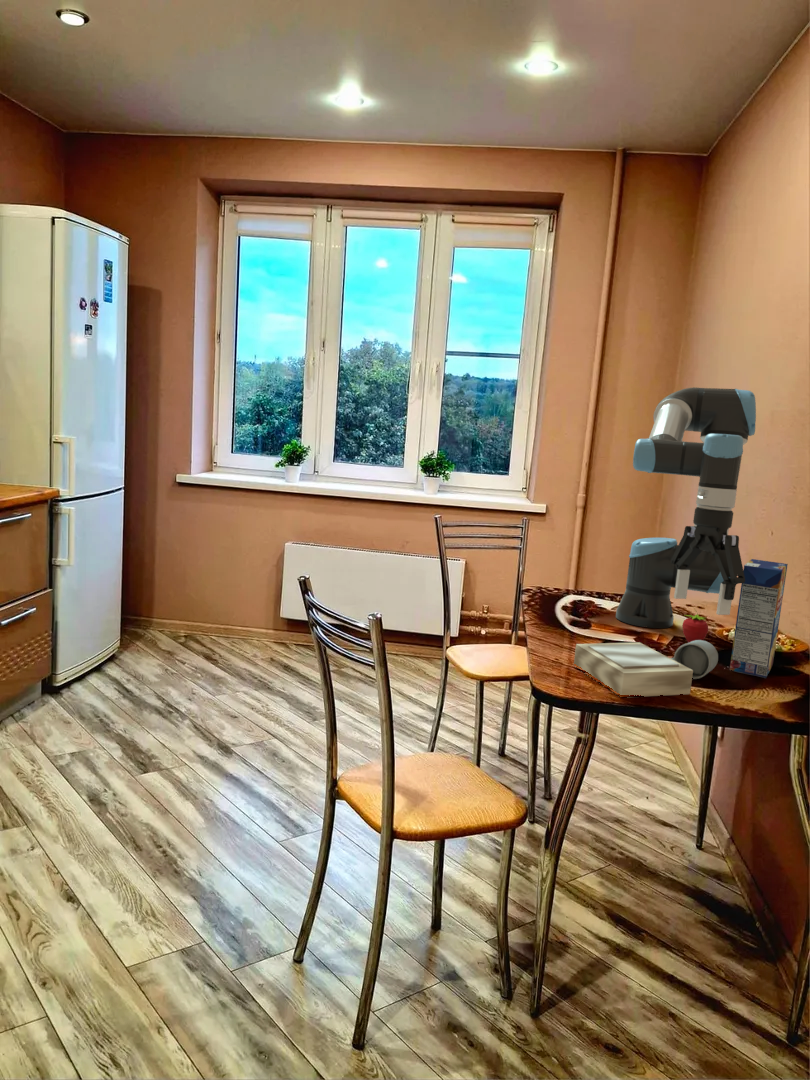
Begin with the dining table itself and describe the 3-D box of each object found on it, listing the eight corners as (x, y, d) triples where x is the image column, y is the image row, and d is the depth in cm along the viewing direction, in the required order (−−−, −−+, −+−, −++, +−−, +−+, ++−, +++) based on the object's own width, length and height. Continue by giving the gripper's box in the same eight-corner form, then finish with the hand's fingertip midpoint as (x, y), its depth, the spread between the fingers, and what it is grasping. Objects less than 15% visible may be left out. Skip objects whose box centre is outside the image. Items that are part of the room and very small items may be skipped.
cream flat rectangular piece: (573, 666, 157) (576, 642, 156) (636, 663, 161) (639, 640, 161) (620, 697, 140) (624, 671, 139) (689, 694, 144) (693, 668, 144)
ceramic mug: (718, 674, 158) (722, 640, 157) (707, 683, 152) (712, 648, 151) (669, 662, 165) (673, 630, 163) (657, 671, 158) (661, 637, 157)
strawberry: (681, 651, 173) (687, 611, 172) (677, 642, 181) (682, 604, 179) (707, 654, 172) (713, 614, 171) (702, 646, 179) (708, 607, 178)
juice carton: (738, 657, 172) (751, 558, 168) (772, 664, 168) (787, 563, 164) (729, 670, 162) (744, 565, 158) (766, 678, 158) (781, 570, 154)
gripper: (662, 500, 162) (650, 592, 165) (743, 515, 139) (727, 622, 142) (690, 501, 164) (677, 592, 168) (774, 516, 141) (758, 621, 144)
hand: (700, 606), depth 155 cm, fingers open, 13 cm apart
